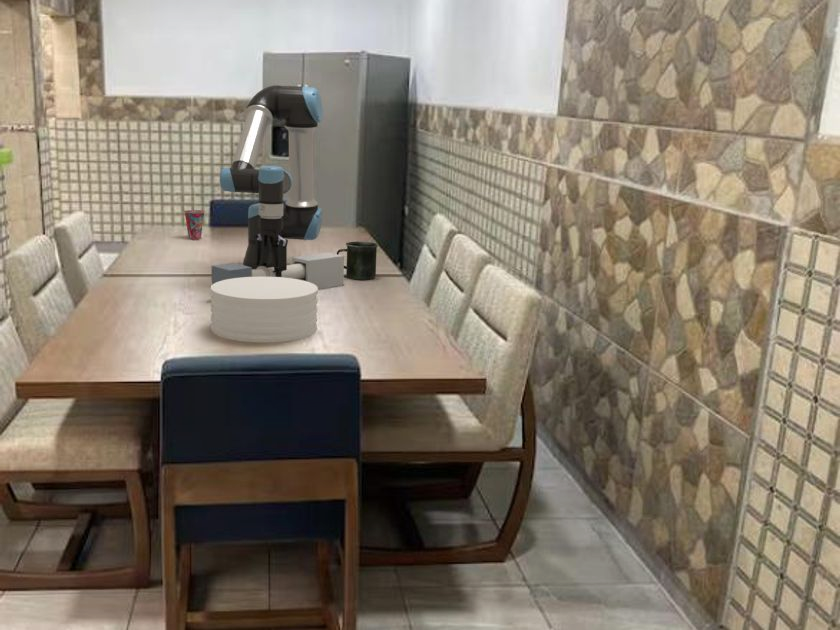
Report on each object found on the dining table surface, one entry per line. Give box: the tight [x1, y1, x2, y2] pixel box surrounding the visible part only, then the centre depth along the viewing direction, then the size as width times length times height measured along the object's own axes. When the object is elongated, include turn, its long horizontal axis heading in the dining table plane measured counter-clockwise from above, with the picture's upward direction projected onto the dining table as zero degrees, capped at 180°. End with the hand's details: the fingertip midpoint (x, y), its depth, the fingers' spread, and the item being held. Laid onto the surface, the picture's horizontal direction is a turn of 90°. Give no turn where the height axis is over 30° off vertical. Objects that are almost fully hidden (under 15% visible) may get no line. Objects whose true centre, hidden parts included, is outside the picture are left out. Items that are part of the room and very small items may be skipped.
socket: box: [211, 262, 253, 285], centre depth 253 cm, size 8×9×10 cm
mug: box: [336, 241, 379, 281], centre depth 296 cm, size 11×15×12 cm
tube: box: [252, 263, 306, 279], centre depth 268 cm, size 32×7×7 cm, turn 139°
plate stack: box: [210, 277, 319, 343], centre depth 225 cm, size 28×28×12 cm
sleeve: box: [291, 252, 345, 290], centre depth 279 cm, size 16×8×10 cm, turn 139°
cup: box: [183, 209, 206, 241], centre depth 359 cm, size 9×8×12 cm
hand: (270, 290), depth 265 cm, fingers closed on tube, 5 cm apart
